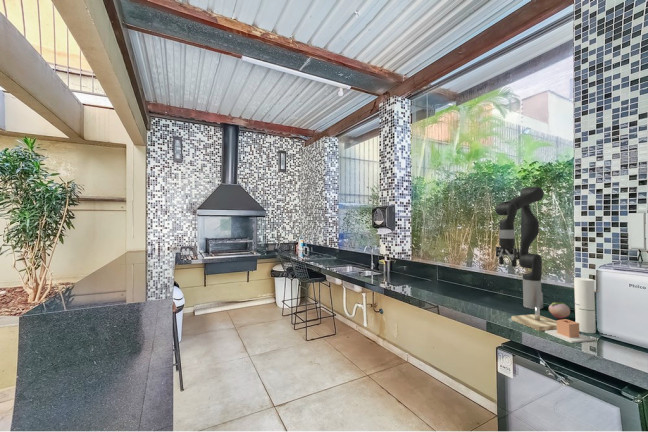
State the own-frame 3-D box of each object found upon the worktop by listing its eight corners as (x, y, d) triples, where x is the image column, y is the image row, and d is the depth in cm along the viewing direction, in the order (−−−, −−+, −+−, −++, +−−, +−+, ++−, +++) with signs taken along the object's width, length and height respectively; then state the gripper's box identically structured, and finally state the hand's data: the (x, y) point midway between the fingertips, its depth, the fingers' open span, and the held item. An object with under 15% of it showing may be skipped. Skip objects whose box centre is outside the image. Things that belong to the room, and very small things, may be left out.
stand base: (536, 317, 155) (536, 314, 155) (566, 328, 139) (566, 324, 139) (511, 319, 152) (511, 316, 152) (539, 331, 136) (539, 326, 136)
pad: (565, 330, 137) (565, 328, 137) (593, 340, 125) (593, 338, 125) (545, 332, 134) (544, 330, 134) (571, 343, 123) (571, 341, 123)
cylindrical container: (585, 327, 140) (583, 277, 141) (600, 333, 133) (598, 280, 133) (571, 327, 140) (570, 277, 140) (585, 333, 133) (583, 280, 133)
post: (537, 319, 147) (537, 306, 147) (541, 320, 145) (540, 308, 145) (534, 319, 146) (533, 307, 146) (537, 320, 144) (537, 308, 144)
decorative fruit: (562, 323, 146) (561, 303, 147) (546, 317, 154) (545, 299, 155) (574, 321, 149) (574, 302, 149) (558, 316, 157) (557, 298, 157)
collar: (566, 331, 133) (566, 319, 133) (579, 336, 127) (579, 323, 127) (557, 332, 132) (556, 320, 132) (569, 337, 126) (569, 324, 126)
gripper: (523, 238, 156) (523, 267, 155) (502, 236, 169) (503, 263, 169) (511, 238, 154) (512, 267, 154) (491, 237, 168) (492, 264, 168)
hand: (507, 265), depth 161 cm, fingers open, 8 cm apart
